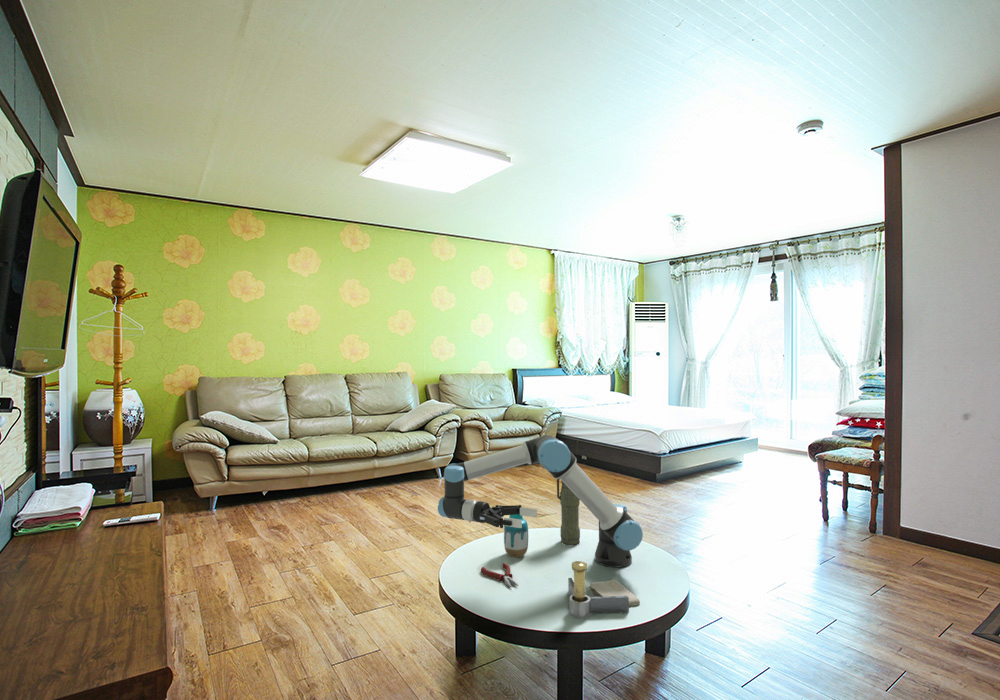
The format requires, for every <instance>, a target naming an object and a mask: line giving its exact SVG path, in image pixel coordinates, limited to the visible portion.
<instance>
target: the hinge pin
mask: <svg viewBox="0 0 1000 700" xmlns="http://www.w3.org/2000/svg"><path fill="white" fill-rule="evenodd" d="M571 569H572V570H573V582H574V601H577V602H585V595H586V571H587V570H588V563H587V562H585V561H582V560H581V561H580V560H575V561H572V562H571Z"/></svg>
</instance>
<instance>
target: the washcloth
mask: <svg viewBox="0 0 1000 700" xmlns="http://www.w3.org/2000/svg"><path fill="white" fill-rule="evenodd" d="M587 588H588V589H589V591H590V593H591V594H593V596H594V597H605V596H628V597H629V607H634V606H637V605H641V601H640V599H639V598H638V597H637V596H636V595H635V594H633V593H632V592H631V591H630V590H629V589H627V588H626V587H625V586H624V585H622V584H621V583H620V582H619V581H618V580H616V579H610V580H607V581H595V582H590V583H589V585H588V587H587Z"/></svg>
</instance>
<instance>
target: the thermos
mask: <svg viewBox="0 0 1000 700" xmlns="http://www.w3.org/2000/svg"><path fill="white" fill-rule="evenodd" d="M560 480H561V479H556V492H557V493H556V497H557V499H558V500H559V501H560V502H559V503H560V506H561V512H560V513H561V525H560V543H561V544H562V543H563V544H562V545H564V544H565V546H568V545H574V546H577V544H578V545H580V544H579V543H581V542H580V538H581V529H580V526H579V524H580V523H579V522H580V520H579V519H580V518H579V517H580V516H579V510H580V509H579V508H580V507H579V506H580V503H581V501H580V499H579V498H578V497H577V496H576V495H575V494H574V493H573V492H572V491H571V490H570V489H569V488H568V486H567V485H566V484H565V483H564V482H563V481H562V480H561V490H560Z"/></svg>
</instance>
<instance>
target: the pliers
mask: <svg viewBox="0 0 1000 700" xmlns="http://www.w3.org/2000/svg"><path fill="white" fill-rule="evenodd" d="M502 568H503V569H504V570H505V569H506V570H507V571H506V570H505V571H506V573H505V574H502V573H499V572H495V571H491V570H489V569H487V568H486V567H485V566H482V567H481V568H480V573H483V574H482V575H483V576H485V577H487V578H490V579H494V580H497V581H498V583H501V582H503V583H505V585H506V586H508V587H510V588H511V589H512V588H513V587H512V585H513V586H516V587H519V584H518V583H517V582H516V581H515V580H514V579H513V574H512V573H511V567H510V565H508V564H507V563H505V562H503V563H502Z"/></svg>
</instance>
